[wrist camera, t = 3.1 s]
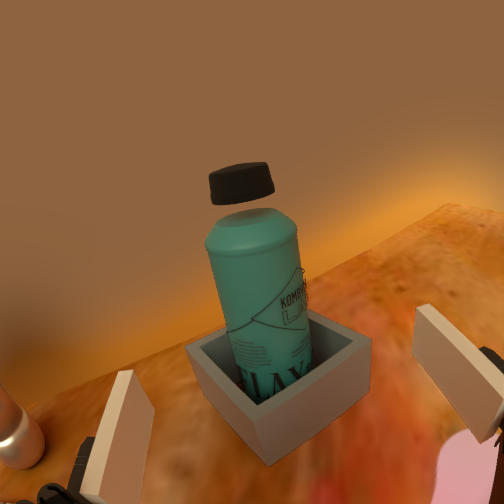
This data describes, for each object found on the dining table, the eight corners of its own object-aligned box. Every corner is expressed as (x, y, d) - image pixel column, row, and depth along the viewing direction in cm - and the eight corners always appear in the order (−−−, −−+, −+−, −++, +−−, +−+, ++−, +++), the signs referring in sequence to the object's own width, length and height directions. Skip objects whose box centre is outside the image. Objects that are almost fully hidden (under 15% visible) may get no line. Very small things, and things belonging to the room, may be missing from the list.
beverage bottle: (236, 418, 25) (165, 183, 18) (259, 369, 30) (213, 165, 24) (310, 427, 22) (271, 164, 15) (324, 373, 28) (296, 152, 21)
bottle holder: (368, 391, 24) (371, 338, 22) (268, 467, 19) (252, 422, 17) (291, 344, 33) (284, 297, 31) (203, 393, 28) (184, 346, 26)
